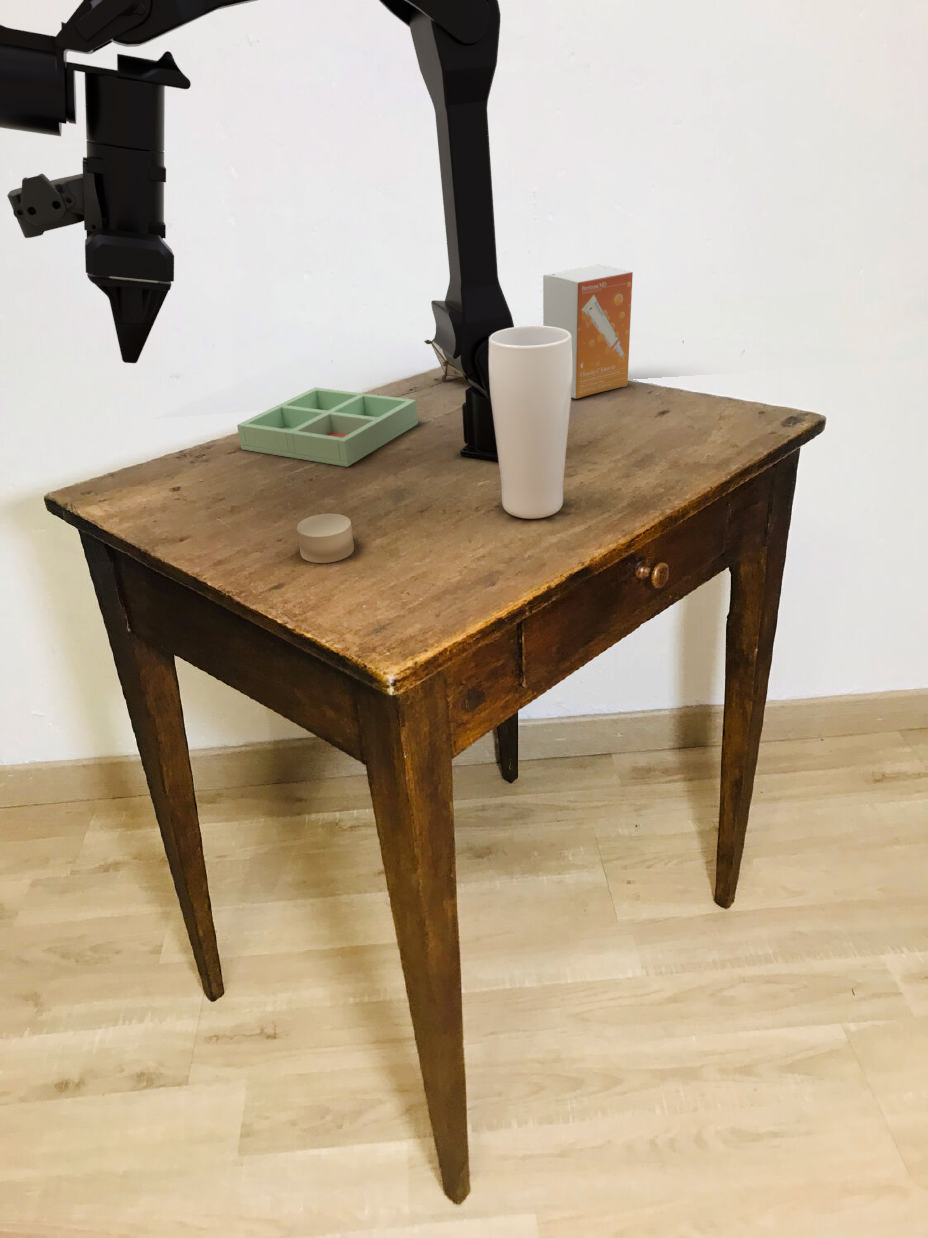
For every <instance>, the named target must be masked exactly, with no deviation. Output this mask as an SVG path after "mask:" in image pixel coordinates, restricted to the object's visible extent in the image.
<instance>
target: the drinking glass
mask: <svg viewBox="0 0 928 1238" xmlns="http://www.w3.org/2000/svg"><path fill="white" fill-rule="evenodd" d="M488 360H489V385H490V396H491V405H492V413H493V421H494V428H495V436H496V445H497V453H498V460H497V461H498V467H499V468H498V469H499V477H500V488H501V489H500V490H501V491H500V493H501V505H502V508H503V509H504V511H505V512H506V513H508V514H509V515H511V516H513V517H515V518H520V519H527V520H532V519H533V520H535V519H543V518H547V517H550V516H553V515H555V514H557V513H558V512H559V511H560V510H561V509H562V507H563V504H564V483H565V482H564V481H565V471H566V469H565V468H566V458H567V446H568V438H569V437H568V435H569V426H570V416H571V405H572V398H571V394H572V372H573V362H572V335H571V333H570V332H568V331H567V330H565V329H561V328H557V327H551V326H543V325H522V326H521V325H520V326H514V327H512V328H507V329H503V330H500V331H497V332H495V333H493V334H492V335H490V337H489V358H488Z"/></svg>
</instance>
